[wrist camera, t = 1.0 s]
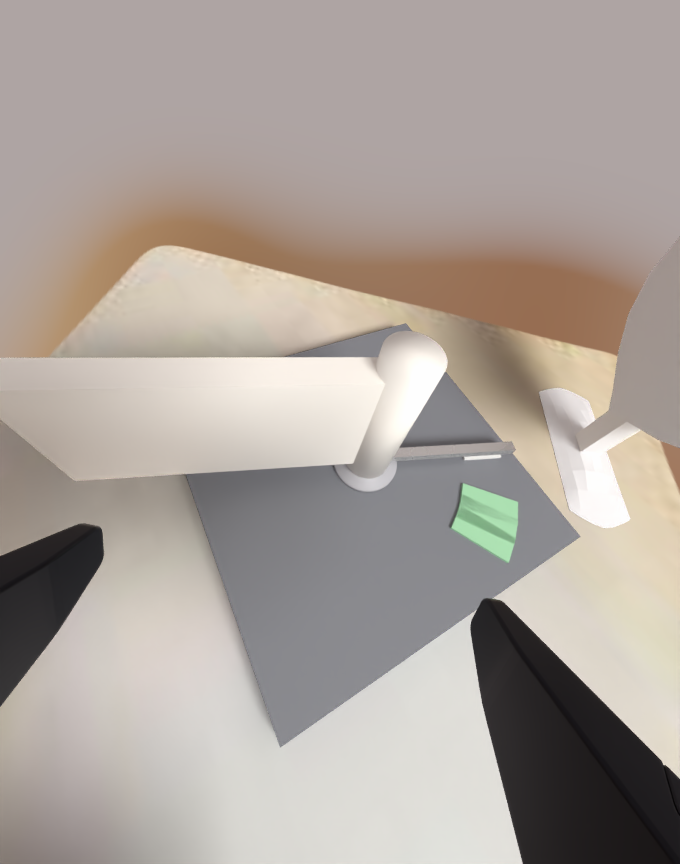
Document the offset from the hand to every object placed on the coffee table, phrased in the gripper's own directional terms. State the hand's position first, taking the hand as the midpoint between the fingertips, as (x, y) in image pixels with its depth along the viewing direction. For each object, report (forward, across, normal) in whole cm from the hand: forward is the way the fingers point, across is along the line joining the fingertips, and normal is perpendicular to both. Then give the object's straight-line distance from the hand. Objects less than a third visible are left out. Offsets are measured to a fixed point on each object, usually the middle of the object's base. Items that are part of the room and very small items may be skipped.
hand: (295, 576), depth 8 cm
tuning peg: (+15, 0, +5) cm, 15 cm away
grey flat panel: (+16, -3, +6) cm, 18 cm away
